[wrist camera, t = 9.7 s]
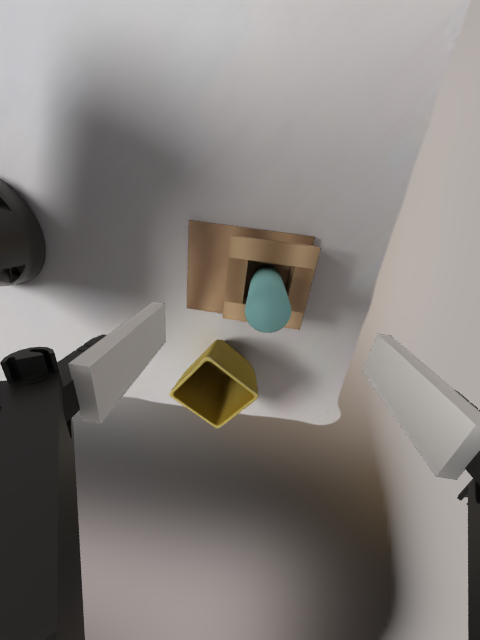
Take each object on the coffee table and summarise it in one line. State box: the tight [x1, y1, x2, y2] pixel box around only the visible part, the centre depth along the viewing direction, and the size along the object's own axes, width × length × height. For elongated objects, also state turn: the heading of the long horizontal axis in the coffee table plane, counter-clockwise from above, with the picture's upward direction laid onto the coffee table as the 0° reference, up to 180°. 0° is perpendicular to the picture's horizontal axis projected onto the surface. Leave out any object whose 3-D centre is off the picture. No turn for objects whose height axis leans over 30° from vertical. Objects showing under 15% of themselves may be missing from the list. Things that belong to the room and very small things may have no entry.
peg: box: [245, 264, 291, 332], centre depth 25 cm, size 4×4×12 cm
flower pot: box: [169, 340, 258, 428], centre depth 33 cm, size 9×9×9 cm
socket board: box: [187, 220, 321, 330], centre depth 29 cm, size 16×12×5 cm
